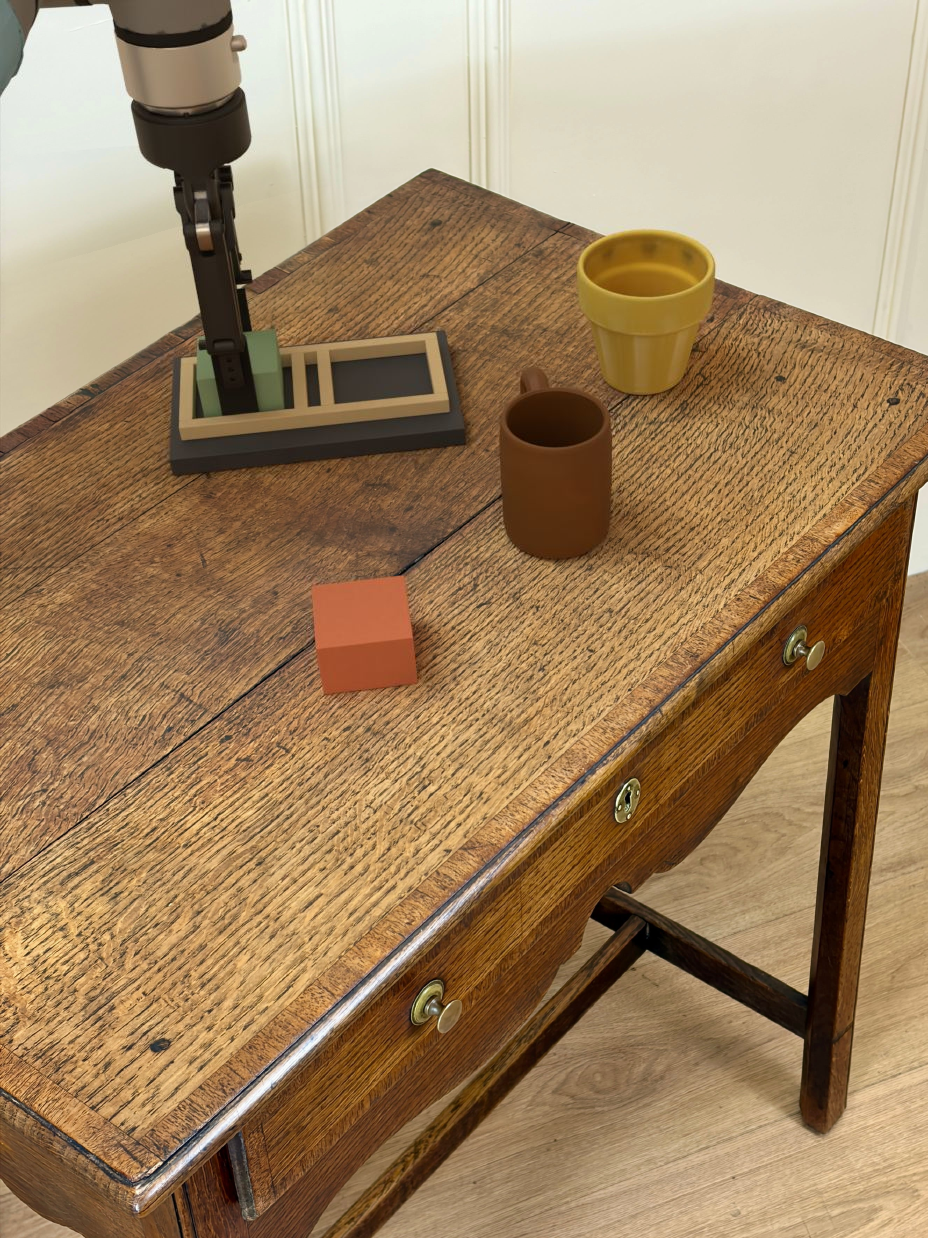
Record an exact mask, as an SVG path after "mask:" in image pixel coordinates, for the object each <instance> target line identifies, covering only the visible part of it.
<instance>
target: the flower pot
mask: <svg viewBox="0 0 928 1238" xmlns="http://www.w3.org/2000/svg"><path fill="white" fill-rule="evenodd" d="M576 264H577V266H576V286H577V287H576V288H577V289H576V290H577V299H578V300H577V301H578V306H579V308H580V310H581V312H582V314H583V315H584V316H585V317H586V318H587V320H588V322H589V327H590V330H591V335H592V338H593V342H594V343H593V344H594V347H595V351H596V355H597V358H598V363H599V367H600V368H599V369H600V372H601V376H602V378H603V380H604V381H605V383H606V384H608V385H609V386H610V387H611V388H613V389H615V390H617V391H619V392H620V393H625V394H629V395H636V396H648V395H655V394H661V393H663V392H665V391H666V392H667V391H668V390H670V389H672V388H673V387H675V386H676V385H678V384H679V383H680V382H681V381H682V379H683V377H684V375H685V373H686V370H687V366H688V363H689V360H690V356H691V353H692V350H693V346H694V343H695V340H696V337H697V333H698V330H699V327H700V324H701V321H702V320H703V319H704V318H706V316H707V315H708V314H709V313H710V310H711V308H712V305H713V299H714V292H715V281H716V261H715V258H714V256H713V254H712V253H711V252H710V250H709V249H708V248H707V247H706V246H705V245H704V244H702V243H701V242H699V241H698V240H695V239H694V238H692V237H690V236H687V235H684V234H683V233H682V234H681V233H678V232H675V231H670V230H664V229H654V228H653V229H648V228H647V229H642V228H641V229H631V230H624V231H623V230H622V231H619V232H615V233H612V234H608V235H605V236H604V237H601V238H599V239H597V240H595V241H593V242H592V243H590V244H589V245H588V246H586V248H584V250H583V251H582V252H581V254H580V256H579V257H578V260H577V263H576Z"/></svg>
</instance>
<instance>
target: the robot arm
mask: <svg viewBox="0 0 928 1238" xmlns="http://www.w3.org/2000/svg"><path fill="white" fill-rule="evenodd" d="M94 5H107V6H108V8H109V11H110V14H111V17H112V25H113V34H114V39H115V43H116V48H117V53H118V58H119V62H120V66H121V67H120V68H121V73H122V76H123V77H122V78H123V82H124V87H125V91H126V93H127V95H128V96H129V97H130V98H132V100H131V102H130V103H131V104H130V111H131V115H132V120H133V124H134V129H135V134H136V139H137V143H138V149H139V151H140V154H141V155H142V157H143V158H144V159H145V160H146V161H147V162H148V163H149V164H151V165H153V166H155V167H156V168H157V167H158V168H159V169H163V170H169V171H172V172H173V179H174V185H175V186H172V193H173V201H174V206H175V207H174V208H175V211H176V212H177V213H178V214H179V216H180V220H181V226H182V229H181V230H182V235H183V238H184V239H183V240H184V244H185V248H186V250H187V251H188V255H189V260H190V265H191V269H192V275H193V281H194V285H195V291H196V296H197V302H198V308H199V312H200V317H201V323H202V329H203V334H204V335H203V336H205V339H204V340H199V342H198V347H199V350H207V354H208V355H211V360H212V366H213V371H214V376H215V381H216V386H217V391H218V396H219V402H220V407H221V412H222V416H228V415H238V414H247V413H257V412H259V408H258V402H257V396H256V390H255V384H254V379H253V373H252V367H251V361H250V355H249V350H248V344H247V338H246V336H245V334H243V332H250V331H253V328H252V327H253V326H252V321H251V315H250V309H249V303H248V298H247V291H246V287H240V288H238V286H241V285H242V286H243V285H253V284H254V280H253V274H252V269H250V268H249V269H242V267H241V265H242V261H243V255H242V253H241V251H240V247H239V241H238V236H237V235H238V234H237V230H236V225H235V224H236V223H235V219H236V203H235V197H234V191H235V187H234V186H235V185H234V184H235V183H234V174H233V168H232V165H231V163H233V162H235V161H237V160H238V159H240V158H241V157H242V156H244V155H245V153H247V151H248V150H249V148H250V146H251V144H252V139H253V137H252V130H251V124H250V117H249V111H248V105H247V104H248V103H247V98H246V97H247V96H246V93H245V91H244V89H243V88H242V87H240V85H241V83H242V78H243V77H242V70H241V69H242V68H241V64H240V58H239V54H238V53H239V52H243V51H246V49H247V48H248V41H247V39H246V38H245V36H244V35H243V34H235V35H234V32H235V25H234V22H233V21H234V15H233V9H232V2H231V0H0V98H1V97H2V95H3V94H4V91H6V89H7V87H8V86H9V84H10V82H11V81H12V79H13V78H14V77H15V76H17V75H18V73H19V70H20V68H21V65H22V64H23V60H24V54H25V53H24V49H25V46H26V43H27V41H28V37H29V34H30V31H31V30H32V28H33V26H34V24H35V22H36V19H37V17H38V14H39V12H40V9H57V8H74V7H75V8H76V7H77V8H78V7H92V6H94Z"/></svg>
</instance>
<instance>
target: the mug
mask: <svg viewBox="0 0 928 1238" xmlns="http://www.w3.org/2000/svg"><path fill="white" fill-rule="evenodd" d="M519 377H520V379H519V395H517V396H516V397H515V398H513V399H512V400H511V401H509V402H508V403H507V404H506V405H505V407H504V409H503V410H502V412H501V415H500V418H499V437H498V441H499V442H498V444H499V445H498V451H499V471H500V472H499V473H500V490H501V503H502V504H501V505H502V519H503V520H502V521H503V526H504V529H505V533H506V535H507V537H508V538H509V540H510V541H511V542H512V543H513V545H514V546H515V547H517V548H518V549H519V550H521V551H523V552H524V553H526V554H529V555H531V556H534V557H539V558H544V559H551V560H552V559H554V560H557V559H559V560H560V559H561V560H562V559H569V558H570V559H571V558H574V557H578V556H581V555H583V554H587V553H588V552H590V551H592V550H593V549H595V548H596V547H597V546H598V545H599V544H600V543H602V541H603V540H604V539H605V537H606V536H607V533H608V532H609V528H610V524H611V516H612V515H611V514H612V510H611V509H612V485H613V483H612V482H613V481H612V480H613V479H612V478H613V434H612V421H611V414H610V411H609V410H608V408H607V406H606V404H605V403H604V402H603V401H602V400H600V399H599V398H598V397H596V396H595V395H593V394H591V393H589V392H587V391H583V390H582V389H576V388H572V387H565V386H563V387H562V386H553V387H552V386H550V383H549V379H548V377H547V375H546V373H545V372H544V371H543V370H542V368H540V367H538V366H533V365H531V366H527V367H526V368H525V369H524V370H523V371H522V373H521V375H520V376H519Z"/></svg>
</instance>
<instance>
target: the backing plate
mask: <svg viewBox="0 0 928 1238" xmlns="http://www.w3.org/2000/svg"><path fill="white" fill-rule="evenodd" d="M279 351H280V357H281V363H282V369H283V380H284V398H285V410H276V411H266V412H257V413H247V414H238V415H228V416H219V417H209V418H205V417H204V412H203V407H202V403H201V398H200V394H199V389H198V385H197V354H196V355H195V354H194V355H185V356H174V357H173V358H172V376H171V377H172V379H171V381H172V382H171V383H172V384H171V403H170V429H169V431H170V432H169V455H168V461H169V466H170V470H171V473H172V476H173V477H175V476H184V475H193V474H202V473H203V474H204V473H211V472H222V471H230V470H232V471H233V470H239V469H241V470H242V469H247V468H248V469H249V468H259V467H268V466H277V465H285V464H295V463H303V462H304V463H305V462H313V461H323V460H333V459H342V458H350V457H359V456H370V455H379V454H387V453H396V452H406V451H417V450H423V449H425V450H426V449H433V448H443V447H444V448H445V447H451V446H453V447H455V446H461V445H466V444H467V438H466V437H467V436H466V426H465V422H464V416H463V412H462V411H463V410H462V406H461V402H460V396H459V391H458V386H457V382H456V377H455V371H454V367H453V362H452V357H451V352H450V346H449V341H448V337H447V331H446V329H441V330H431V331H430V330H429V331H422V332H420V331H419V332H412V333H410V332H409V333H401V334H391V335H380V336H371V337H363V338H362V337H361V338H352V339H343V340H342V339H341V340H332V341H331V340H330V341H323V342H314V343H303V344H291V345H284V346H282V345H281V346H279Z"/></svg>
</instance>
